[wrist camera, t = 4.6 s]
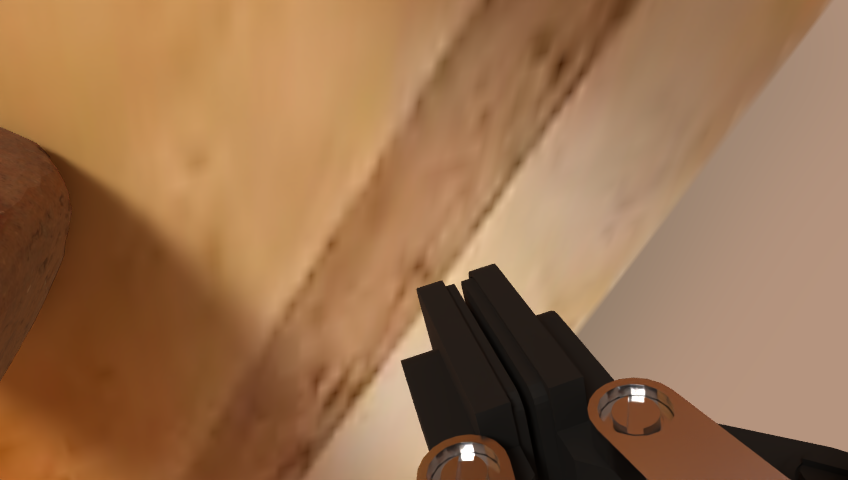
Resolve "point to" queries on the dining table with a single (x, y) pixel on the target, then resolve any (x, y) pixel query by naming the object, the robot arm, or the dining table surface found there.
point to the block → (27, 236)
